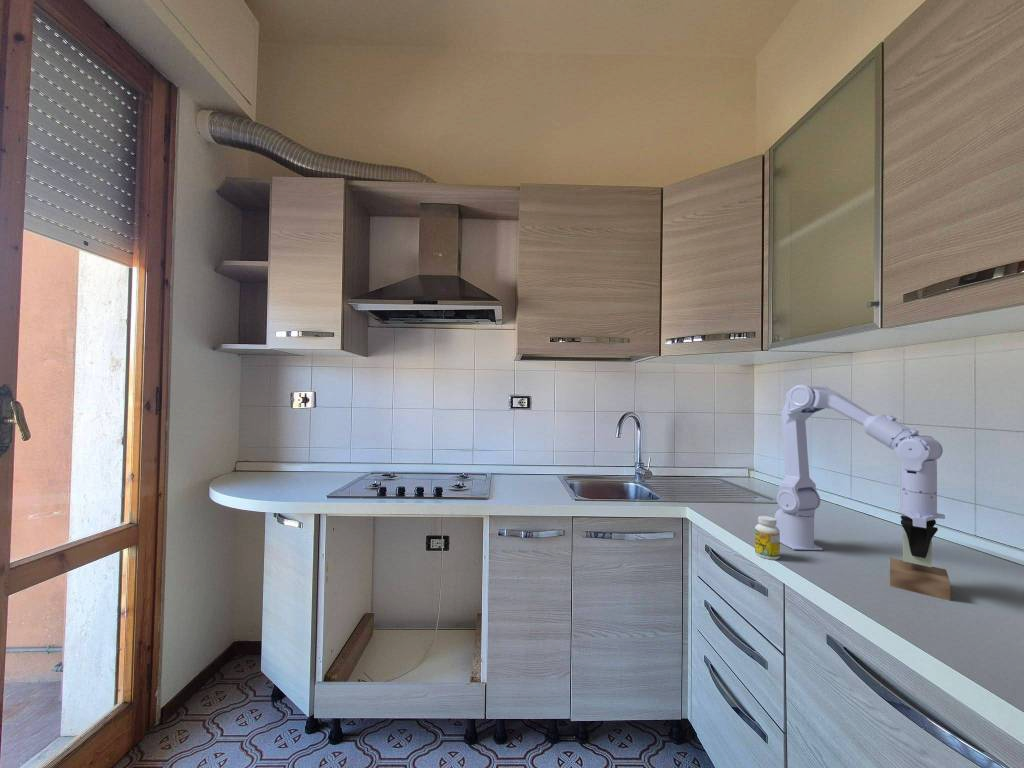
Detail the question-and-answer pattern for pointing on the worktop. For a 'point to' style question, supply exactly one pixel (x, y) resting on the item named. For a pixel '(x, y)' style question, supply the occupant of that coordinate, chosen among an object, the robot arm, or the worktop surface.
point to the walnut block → (920, 579)
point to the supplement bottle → (767, 538)
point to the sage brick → (913, 559)
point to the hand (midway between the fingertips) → (918, 553)
